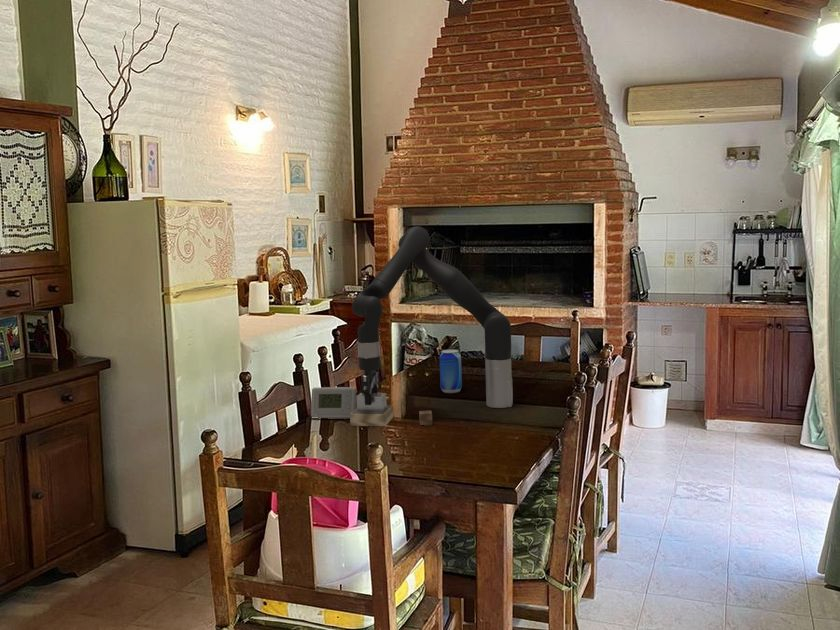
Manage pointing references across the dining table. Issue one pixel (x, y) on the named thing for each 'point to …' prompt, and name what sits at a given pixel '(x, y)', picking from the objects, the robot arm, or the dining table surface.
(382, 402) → the housing
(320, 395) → the digital clock
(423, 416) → the walnut block
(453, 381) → the beer can
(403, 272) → the robot arm
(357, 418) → the stand
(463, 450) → the dining table surface
